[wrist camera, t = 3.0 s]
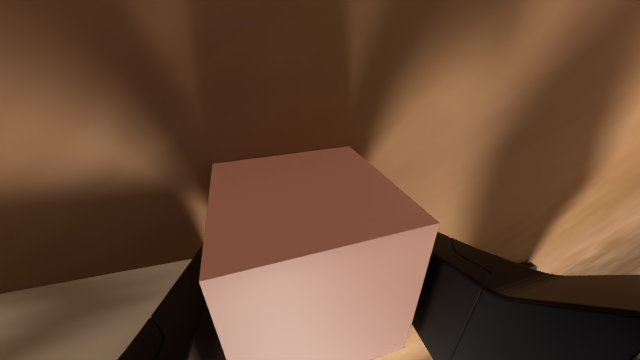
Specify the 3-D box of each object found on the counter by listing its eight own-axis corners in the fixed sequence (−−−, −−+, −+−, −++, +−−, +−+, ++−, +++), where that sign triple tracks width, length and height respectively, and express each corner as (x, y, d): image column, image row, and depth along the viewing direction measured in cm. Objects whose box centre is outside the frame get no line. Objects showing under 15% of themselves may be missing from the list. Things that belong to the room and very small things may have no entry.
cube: (349, 146, 10) (439, 222, 6) (344, 243, 12) (404, 346, 8) (212, 163, 8) (199, 282, 4) (237, 268, 11) (243, 409, 7)
